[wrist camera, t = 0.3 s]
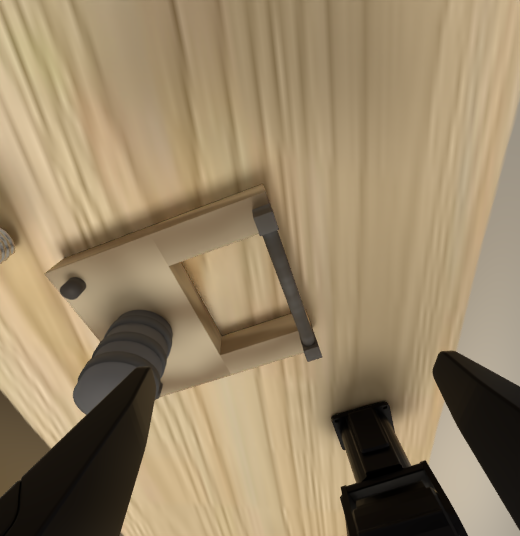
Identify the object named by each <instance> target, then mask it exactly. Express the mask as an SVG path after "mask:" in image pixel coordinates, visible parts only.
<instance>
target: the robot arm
mask: <svg viewBox="0 0 520 536" xmlns="http://www.w3.org/2000/svg"><path fill="white" fill-rule="evenodd" d="M433 377H434V379H435V381H436V383H437V386H438V388H439V390H440V392H441V394H442V396H443V398H444V400H445V402H446V404H447V406H448V408H449V410H450V412H451V414H452V417H453V419H454V420H455V422H456V424H457V426H458V428H459V430H460V431H461V433H462V435H463V437H464V438H465V440H466V442H467V443H468V445H469V446H470V448H471V450H472V452H473V453H474V455H475V457H476V458H477V460H478V462H479V463H480V465H481V466H482V468H483V470H484V472H485V473H486V475H487V477H488V478H489V480H490V482H491V483H492V485H493V487H494V488H495V490H496V492H497V493H498V495H499V496H500V498H501V500H502V502H503V503H504V505H505V507H506V508H507V510H508V512H509V513H510V515H511V517H512V518H513V520H514V522H515V523H516V525H517V527H518V528H519V530H520V387H519V386H518V385H516V384H514V383H512V382H510V381H509V380H507V379H505V378H503V377H501V376H500V375H498V374H496V373H494V372H492V371H490V370H489V369H487V368H485V367H483V366H481V365H479V364H478V363H476V362H474V361H472V360H470V359H468V358H467V357H465V356H463V355H461V354H459V353H458V352H456V351H441V352H440V353H439V354H438V356H437V359H436V362H435V365H434V367H433ZM155 396H156V383H155V379H154V375H153V371H152V368H151V367H149V366H144V367H137V368H135V369H134V370H133V371H132V372H131V373H130V374H129V375H128V376H127V377H125V378H124V379H123V380H122V381H121V382H120V383H119V384H118V385H117V386H116V387H115V388H114V389H113V390H112V391H111V392H110V393H109V394H108V395H107V396H106V397H105V398H104V399H103V400H102V401H101V402H100V403H98V404H97V405H96V406H95V407H94V408H93V409H92V410H91V411H90V412H89V413H88V414H87V415H86V416H85V417H84V418H83V419H82V420H81V421H80V422H79V423H78V424H77V425H76V426H75V427H74V428H72V429H71V430H70V431H69V432H68V433H67V434H66V435H65V436H64V437H63V438H62V439H61V440H60V441H59V442H58V443H57V444H56V445H55V446H54V447H53V448H52V449H51V450H50V451H49V452H48V453H47V454H46V455H44V456H43V457H42V458H41V459H40V461H38V462H37V463H36V464H35V465H34V466H33V467H32V468H31V469H30V470H29V471H28V472H27V473H26V474H25V475H24V476H23V477H22V479H21V480H19V481H17V482H16V483H15V484H14V485H13V486H12V487H11V488H10V489H9V490H8V491H7V492H6V493H5V494H4V495H3V496H2V497H1V498H0V536H119V535H120V532H121V529H122V525H123V522H124V519H125V515H126V512H127V508H128V505H129V502H130V498H131V495H132V492H133V488H134V485H135V482H136V478H137V475H138V471H139V468H140V465H141V461H142V458H143V455H144V451H145V447H146V443H147V438H148V433H149V428H150V422H151V417H152V412H153V406H154V401H155ZM331 419H332V423H333V425H334V428H335V431H336V433H337V436H338V439H339V441H340V444H341V447H342V449H343V450H346V453H347V456H348V459H349V462H350V465H351V468H352V471H353V474H354V477H355V480H356V483H355V484H352V485H349V486H346V485H345V486H342V487H341V491H342V495H341V497H340V499H341V503H342V507H343V510H344V514H345V520H346V528H347V536H468V535H467V533H466V531H465V529H464V527H463V525H462V523H461V521H460V519H459V517H458V515H457V514H456V512H455V510H454V508H453V507H452V505H451V503H450V501H449V499H448V498H447V496H446V494H445V493H444V491H443V489H442V488H441V486H440V484H439V483H438V481H437V479H436V477H435V476H434V474H433V472H432V471H431V469H430V467H429V466H428V464H427V462H426V461H421V462H420V463H419V464H416V465H413V466H411V464H410V462H409V460H408V458H407V456H406V454H405V452H404V450H403V448H402V446H401V444H400V442H399V440H398V438H397V436H396V434H395V431H394V426H393V421H392V416H391V411H390V406H389V405H388V403H387V402H385V401H384V402H380V403H377V404H373V405H369V406H366V407H362V408H359V409H355V410H352V411H348V412H345V413H341V414H338V415H334V416H332V418H331Z"/></svg>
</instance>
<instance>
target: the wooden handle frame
mask: <svg viewBox="0 0 520 536" xmlns="http://www.w3.org/2000/svg"><path fill="white" fill-rule="evenodd" d="M277 230H279V228H278V225H277V222H276V219H275V216H274V214H273V211H272V208H271V205H270V203H269V200H268V197H267V194H266V191H265V188H264V186H263V184H261V185H259V186H256V187H253V188H251V189H248V190H245V191H243V192H240V193H237V194H235V195H232V196H229V197H227V198H224V199H221V200H219V201H216V202H213V203H211V204H208V205H205V206H203V207H200V208H197V209H195V210H192V211H189V212H187V213H184V214H181V215H179V216H176V217H173V218H171V219H168V220H165V221H163V222H160V223H157V224H155V225H152V226H149V227H147V228H144V229H141V230H139V231H136V232H133V233H131V234H128V235H125V236H123V237H120V238H117V239H115V240H112V241H109V242H107V243H104V244H102V245H99V246H96V247H94V248H91V249H88V250H86V251H83V252H80V253H78V254H75V255H72V256H70V257H67V258H64V259H63V260H61V261H60V262H59V263H57V264H56V265H55V266H54V267H52V268H51V269H50V270H48V271H47V272H46V273H45V274H44V275H45V276H46V277H47V278H48V279H49V281H50V282H51V283H52V284H53V285H54V287H55V288H56V289H57V290H58V291H59V293H60V294H61V295H62V296H63V297H64V299H65V300H66V301H67V302H68V303H69V305H70V306H71V307H72V308H73V309H74V311H75V312H76V313H77V314H78V315H79V317H80V318H81V319H82V320H83V321H84V323H85V324H86V325H87V326H88V327H89V329H90V330H91V331H92V332H93V333H94V335H95V336H96V337H97V338H98V339H99V341H100V342H101V341H102V340H103V339H104V336H105V334H106V332H107V331H108V329H109V328H110V326H111V325H112V324H113V323H114V322H115V321H116V320H117V319H118V318H119V317H120V316H121V315H122V314H124V313H126V312H128V311H132V310H147V311H151V312H154V313H156V314H158V315H160V316H162V317H163V318H164V319H165V320H166V321H167V322H168V323H169V325H170V326H171V329H172V333H173V336H172V347H171V351H170V354H169V356H168V358H167V364H166V367H165V371H164V374H163V376H162V378H161V379H160V380H161V382H160V387H159V390H158V394H157V397H156V399H158V398H159V397H162V396H165V395H168V394H172V393H175V392H178V391H181V390H185V389H188V388H191V387H194V386H198V385H201V384H204V383H207V382H210V381H214V380H217V379H220V378H223V377H227V376H230V375H233V374H236V373H240V372H243V371H246V370H249V369H253V368H256V367H259V366H262V365H266V364H269V363H272V362H275V361H279V360H282V359H285V358H288V357H292V356H295V355H298V354H301V353H305V356H306V359H307V361H308V362H309V361H312V360H315V359H319V358H322V355H321V352H320V349H319V346H318V343H317V340H316V337H315V335H314V332H313V329H312V326H311V323H310V320H309V317H308V315H307V312H306V309H304V306H303V303H302V300H301V298H300V295H299V292H298V289H297V286H296V283H295V280H294V277H293V274H292V271H291V268H290V266H289V263H288V260H287V257H286V254H285V251H284V248H283V245H282V242H281V239H280V236H279V233H278V231H277ZM257 234H259V235H260V236H263V238H264V241H265V244H266V246H267V249H268V252H269V254H270V257H271V260H272V262H273V265H274V268H275V270H276V273H277V276H278V279H279V281H280V284H281V287H282V289H283V292H284V295H285V297H286V300H287V303H288V305H289V308H290V311H291V313H292V314H289V315H286V316H283V317H279V318H276V319H273V320H270V321H267V322H264V323H261V324H258V325H255V326H252V327H249V328H245V329H242V330H239V331H236V332H233V333H230V334H227V335H224V336H221V334H220V332H219V330H218V329H217V327H216V325H215V323H214V321H213V320H212V318H211V316H210V314H209V312H208V310H207V309H206V307H205V305H204V303H203V301H202V300H201V298H200V296H199V294H198V292H197V290H196V289H195V287H194V285H193V283H192V281H191V279H190V278H189V276H188V274H187V272H186V270H185V269H184V267H183V265H182V263H181V262H182V261H184V260H187V259H190V258H193V257H196V256H198V255H201V254H204V253H207V252H210V251H212V250H215V249H218V248H221V247H224V246H226V245H229V244H232V243H235V242H238V241H240V240H243V239H246V238H249V237H252V236H254V235H257Z"/></svg>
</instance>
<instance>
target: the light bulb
mask: <svg viewBox="0 0 520 536" xmlns="http://www.w3.org/2000/svg"><path fill="white" fill-rule="evenodd" d="M14 253H15V244H14V242H13V239H12V237H11V236H10V235H9V234H8V233H7V232H6V231H5V230H4V229H2V228H1V227H0V264H1V263H2V262H4V261H6V260H7V259H8V258H9V256H10V255H12V254H14Z"/></svg>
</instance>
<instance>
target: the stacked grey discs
mask: <svg viewBox="0 0 520 536" xmlns="http://www.w3.org/2000/svg"><path fill="white" fill-rule="evenodd" d="M172 336H173V333H172V329H171V326H170V325H169V323H168V322H167V321H166V320H165V319H164V318H163V317H162V316H160V315H158V314H156V313H154V312H151V311H147V310H132V311H128V312H126V313H124V314H122V315H121V316H120V317H119V318H118V319H117V320H116V321H115V322H114V323H113V324H112V325H111V326H110V328H109V329H108V331H107V332H106V334H105V336H104V339H103V340H102V341H101V342H100V343H99V345H98V347H97V348H96V350H95V351H94V353H93V355H92V359H90V360H89V361H88V362H87V364H86V365H85V367H84V369H83V370H82V372H81V373H80V375H79V378H78V383H77V385H76V386H75V388H74V391H73V398H74V402H75V404H76V405H77V407H78V408H79V409H80V410H81V411H82V412H83V413H85V414H86V415H87V414H88V413H89V412H90V411H91V410H92V409H93V408H94V407H95V406H96V405H97V404H98V403H100V402H101V401H102V400H103V399H104V398H105V397H106V396H107V395H108V394H109V393H110V392H111V391H112V390H113V389H114V388H115V387H116V386H117V385H118V384H119V383H120V382H121V381H122V380H123V379H124V378H125V377H127V376H128V375H129V374H130V373H131V372H132V371H133V370H134V369H135V368H137V367H144V366H149V367H151V368H152V371H153V375H154V379H155V383H156V396H155V399H156V397H157V394H158V390H159V387H160V382H161V380H160V379H161V378H162V376H163V374H164V371H165V367H166V364H167V358H168V356H169V354H170V351H171V347H172Z"/></svg>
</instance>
